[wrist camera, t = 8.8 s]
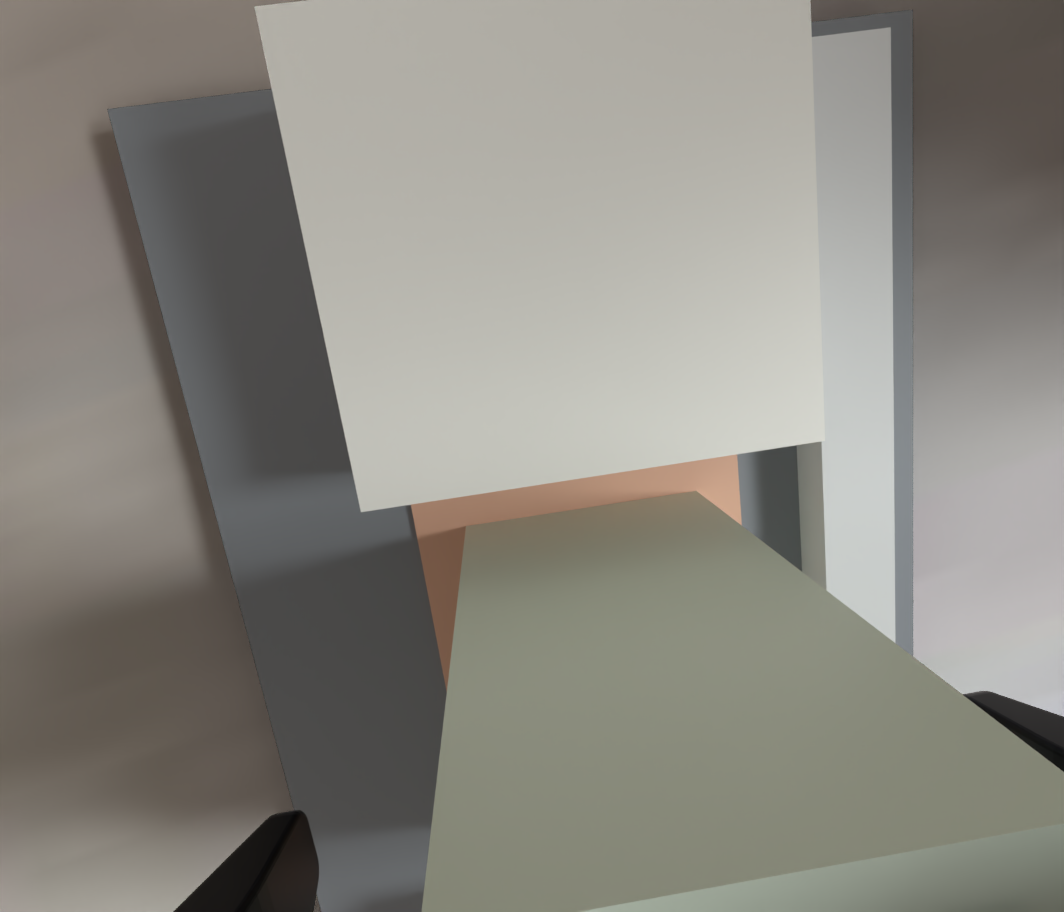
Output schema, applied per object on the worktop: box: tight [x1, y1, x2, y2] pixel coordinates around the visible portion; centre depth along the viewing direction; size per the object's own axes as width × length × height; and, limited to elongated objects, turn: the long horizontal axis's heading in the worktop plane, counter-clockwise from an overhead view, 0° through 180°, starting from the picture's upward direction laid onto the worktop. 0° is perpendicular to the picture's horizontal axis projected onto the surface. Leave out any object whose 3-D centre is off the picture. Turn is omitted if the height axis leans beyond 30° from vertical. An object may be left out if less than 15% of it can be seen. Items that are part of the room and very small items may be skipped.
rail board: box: [107, 0, 913, 912], centre depth 10 cm, size 12×20×3 cm, turn 8°
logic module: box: [422, 491, 1064, 912], centre depth 7 cm, size 4×6×7 cm, turn 8°
